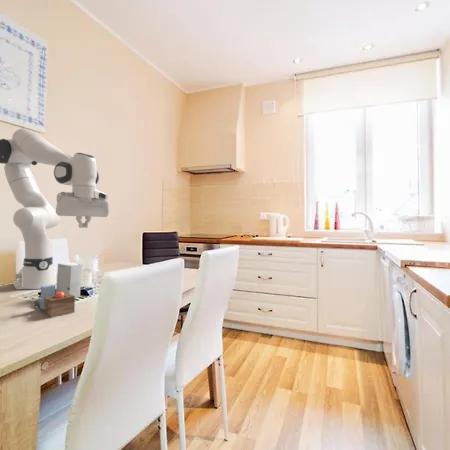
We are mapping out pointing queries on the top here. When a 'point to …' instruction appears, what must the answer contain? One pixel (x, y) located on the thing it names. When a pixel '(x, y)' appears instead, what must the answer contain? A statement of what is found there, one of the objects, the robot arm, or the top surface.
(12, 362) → the top surface
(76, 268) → the skincare box
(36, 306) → the rail
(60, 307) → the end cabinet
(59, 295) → the button
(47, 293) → the light blue stepped block
